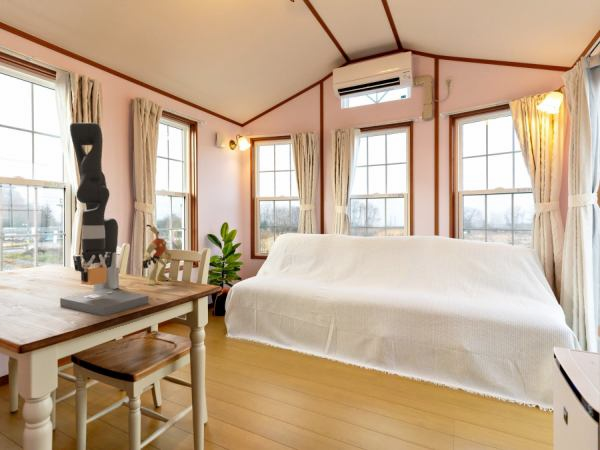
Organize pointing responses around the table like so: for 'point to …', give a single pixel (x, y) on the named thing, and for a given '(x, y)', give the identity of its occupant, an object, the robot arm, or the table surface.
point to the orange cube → (96, 275)
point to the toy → (156, 258)
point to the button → (94, 296)
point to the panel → (104, 301)
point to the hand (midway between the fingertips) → (93, 280)
